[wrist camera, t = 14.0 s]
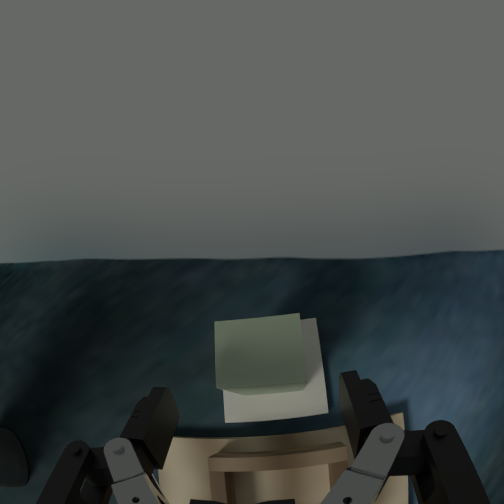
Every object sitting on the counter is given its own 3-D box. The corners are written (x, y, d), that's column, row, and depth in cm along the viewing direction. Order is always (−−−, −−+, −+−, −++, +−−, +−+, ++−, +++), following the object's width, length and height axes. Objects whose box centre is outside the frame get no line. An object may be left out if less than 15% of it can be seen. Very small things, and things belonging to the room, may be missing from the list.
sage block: (245, 395, 23) (216, 388, 15) (243, 353, 25) (214, 321, 17) (302, 390, 23) (306, 381, 14) (298, 347, 25) (299, 313, 16)
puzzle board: (173, 535, 16) (154, 550, 13) (162, 435, 23) (140, 437, 19) (402, 518, 15) (418, 532, 11) (397, 412, 21) (415, 412, 17)
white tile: (227, 422, 23) (225, 422, 22) (222, 331, 28) (220, 329, 27) (327, 412, 22) (328, 412, 21) (315, 320, 27) (315, 317, 26)
